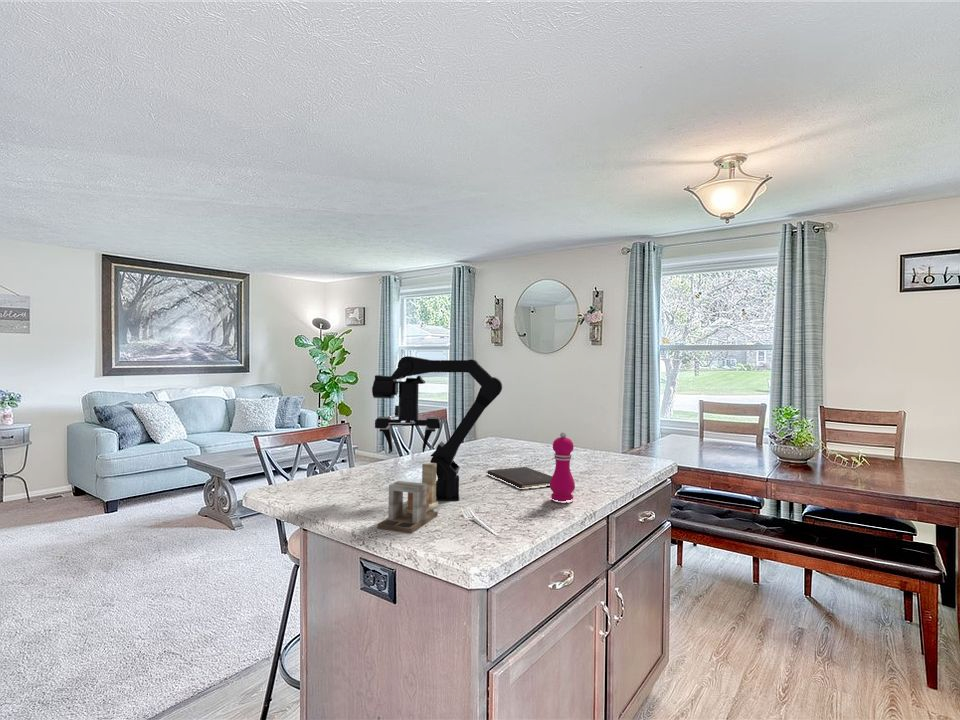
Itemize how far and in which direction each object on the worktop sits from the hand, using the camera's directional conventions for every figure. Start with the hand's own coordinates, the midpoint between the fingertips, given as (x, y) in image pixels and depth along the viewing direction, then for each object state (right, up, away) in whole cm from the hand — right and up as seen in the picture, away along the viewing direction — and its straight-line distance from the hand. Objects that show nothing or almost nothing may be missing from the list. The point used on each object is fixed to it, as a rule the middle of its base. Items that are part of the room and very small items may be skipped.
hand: (407, 452), depth 151 cm
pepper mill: (+45, -14, -2) cm, 47 cm away
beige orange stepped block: (+6, -12, -17) cm, 21 cm away
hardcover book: (+36, -15, +23) cm, 45 cm away
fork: (+22, -14, -25) cm, 36 cm away
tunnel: (+3, -13, -24) cm, 28 cm away
